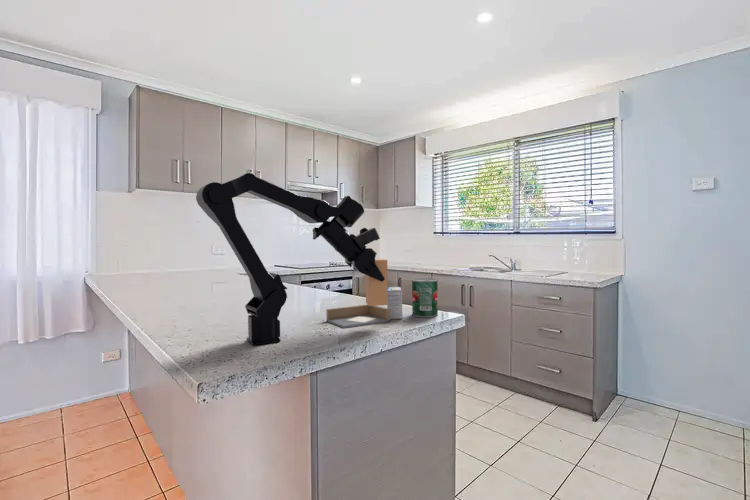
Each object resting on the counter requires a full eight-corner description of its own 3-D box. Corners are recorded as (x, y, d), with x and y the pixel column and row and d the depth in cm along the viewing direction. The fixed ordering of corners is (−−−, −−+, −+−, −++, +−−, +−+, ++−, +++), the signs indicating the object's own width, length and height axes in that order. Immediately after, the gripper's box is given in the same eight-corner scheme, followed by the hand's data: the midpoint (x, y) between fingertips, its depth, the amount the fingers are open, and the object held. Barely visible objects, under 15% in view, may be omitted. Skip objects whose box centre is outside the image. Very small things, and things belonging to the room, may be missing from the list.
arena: (343, 328, 108) (343, 315, 108) (326, 321, 117) (326, 309, 117) (390, 321, 116) (390, 309, 116) (370, 315, 125) (370, 304, 125)
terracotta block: (369, 305, 106) (368, 260, 105) (365, 302, 110) (365, 259, 110) (387, 305, 107) (387, 259, 106) (383, 302, 111) (383, 258, 111)
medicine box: (402, 319, 119) (402, 290, 118) (387, 319, 119) (387, 290, 118) (401, 314, 127) (401, 286, 126) (387, 314, 127) (386, 286, 126)
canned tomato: (407, 314, 127) (407, 279, 126) (429, 311, 130) (429, 277, 129) (420, 318, 119) (419, 281, 119) (442, 316, 122) (442, 280, 122)
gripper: (367, 215, 98) (411, 259, 100) (355, 219, 116) (393, 256, 119) (335, 248, 96) (381, 292, 99) (328, 246, 115) (367, 283, 117)
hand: (381, 279), depth 109 cm, fingers closed on terracotta block, 5 cm apart
